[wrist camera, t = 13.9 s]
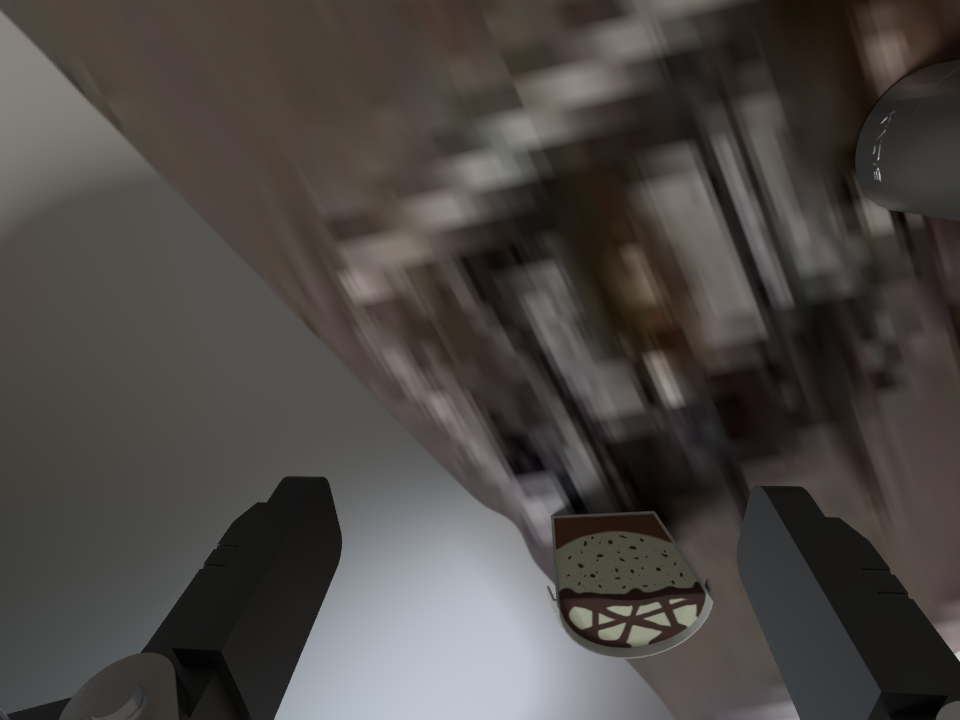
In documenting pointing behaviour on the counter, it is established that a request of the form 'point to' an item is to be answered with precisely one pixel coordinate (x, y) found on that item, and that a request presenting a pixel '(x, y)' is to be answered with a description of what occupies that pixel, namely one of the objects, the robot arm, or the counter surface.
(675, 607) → the food container
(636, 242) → the counter surface
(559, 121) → the counter surface
